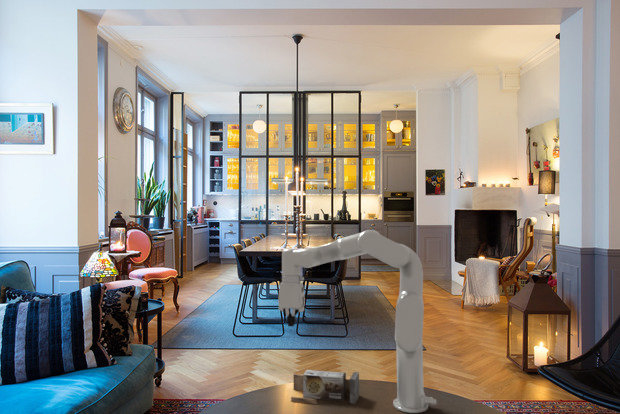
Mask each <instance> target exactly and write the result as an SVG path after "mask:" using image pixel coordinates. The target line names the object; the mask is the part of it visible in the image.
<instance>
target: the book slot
mask: <svg viewBox="0 0 620 414" xmlns="http://www.w3.org/2000/svg"><path fill="white" fill-rule="evenodd" d="M293 390H295V391H302V392H303V374H300V373H299V374H298V373H294V374H293ZM348 395H350V396H349V404H350V403H351V404H352V405H356V404H355V403H357V401H358V399H359V396H360V372H359V371H353V373H352V374H351V376H350V378H346V396H348ZM290 402H294V403H302V404H311V405H317V404H318V399H310V398H303V397H297V396H291V397H290Z"/></svg>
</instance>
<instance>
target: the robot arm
mask: <svg viewBox="0 0 620 414" xmlns="http://www.w3.org/2000/svg"><path fill="white" fill-rule="evenodd" d="M367 254H368V255H370V256H371V257H373V258H375V259H377V260H379V261H381V262H382V263H384V264H387V265H389V266H390V267H393V268H396V269H399V293H398V298H397V300H396V304H395V305H396V306H395V325H394V340H395V341H394V342H395V343H396V348H395V349H396V398H395V399H393V402H392V404H393V407H394V408H395V409H396V410H398V411H400V412H403V413H409V414H419V413H423V412H426V411H427V410H428V409H429V405H431V406H437V399H435V398H434V397H432V396H427V395H425V393H426V392H424V360H423V359H424V355H423V353H424V352H423V351H424V350H423V348H424V346H423V331H424V311H425V308H424V307H425V305H424V304H425V303H424V299H423V298H424V296H423V294H424V292H423V291H424V290H423V289H424V269H423V265H422V261H421V259H420V257H419V256H418V254H417V253H416V252H415V251H414V250H413V249H411V248H410V247H409V246H407V245H405V244H403V243H398V242H396V241H393V240H392V239H390V238H387V237H386V236H384V235H382V234H381V233H379V232H378V230H374V229H366V230H364V231H362V232H358V233H354V234H352V235H348V236H344V237H340V238H338V239H336V240H334V241H332V242H329V243H326V244H323V245H318V246H315V247H311V248H303V249H298V248H286V249H285V248H284V249H283V250H282V252H281V282H280V284H279V291H278V299H277V300H278V302H277V303H278V308H277V309H278V311H280V312H283V313H284V314H285V316H286V317H287V318H286V319H287V320H286V321H287V322H286V323H287V326H288V327H294V326H295V325H296V315H298V314H299V313H301V312H305V304H306V302H305V301H306V298H305V288H304V284H303V282H302V281H305V277H304V276H302V274H301V271H302V270H301V268H304V269H305V268H306V269H309V268H313V267H317V266H320V265H323V264H327V263H331V262H335V261H343V260H348V259H351V258H354V257H359V256H363V255H367Z"/></svg>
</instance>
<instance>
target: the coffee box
mask: <svg viewBox="0 0 620 414" xmlns="http://www.w3.org/2000/svg"><path fill="white" fill-rule="evenodd" d="M302 375H303V391H302V392H303V393H302V398H308V399H317V400H324V401H325V400H326V401H336V402H337V401H339V402H345V399H346V397H347V395H346V379H347V374H346V372H343V371H341V372H339V371H325V370H311V369H306V370H305V372H304V373H303V374H302Z"/></svg>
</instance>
